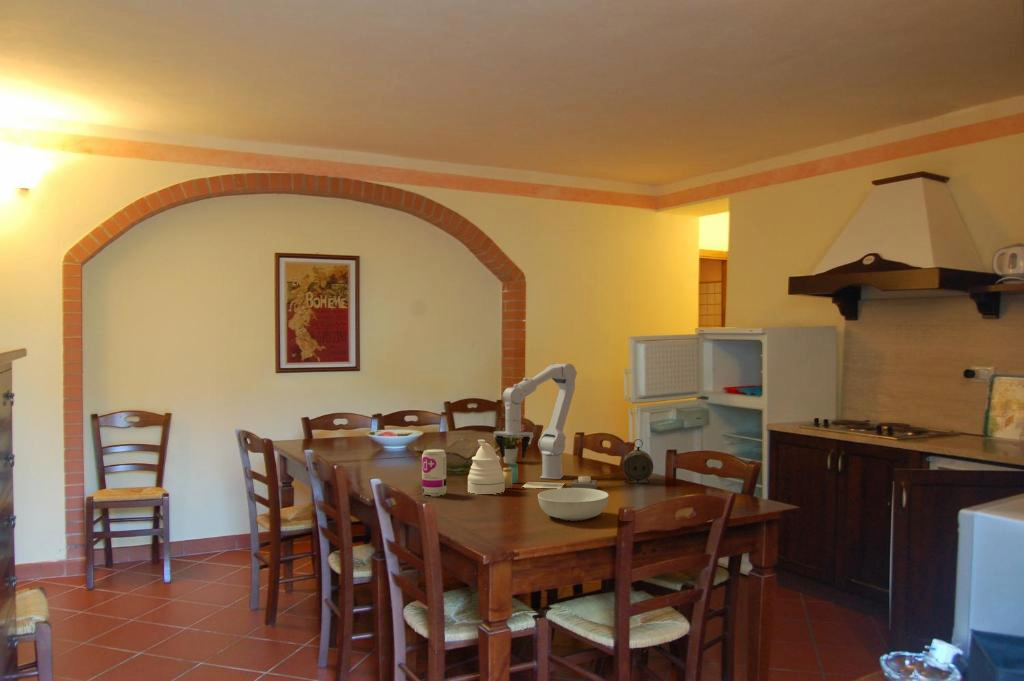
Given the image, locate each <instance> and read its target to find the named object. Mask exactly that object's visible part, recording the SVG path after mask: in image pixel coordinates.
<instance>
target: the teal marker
mask: <svg viewBox="0 0 1024 681" xmlns="http://www.w3.org/2000/svg"><path fill="white" fill-rule="evenodd" d="M508 468H512V483H517V484H518V483H519V471H518V470H519V464H518V463H517V462H516V463H508Z"/></svg>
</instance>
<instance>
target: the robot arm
mask: <svg viewBox="0 0 1024 681" xmlns="http://www.w3.org/2000/svg"><path fill="white" fill-rule="evenodd" d="M577 375H578V372H577V370H576V367H575V366H574V364H572V363H556V362H555V363H552V364H550V365H548V366H546V368H545V369H543V370H542V371H540V372H539V373H537V375H535V376H533V377H532V378H531V377H523V378H522V381H520V382H518V383H514V384H513V386H512V387H507V388H506V389H505V390H504V391H503V393H502V395H501V398H502V401H503V402H504V407H505V429H506V431H503V430H501V431H499V430H495V431H493V438H495V441H496V443H497V445H498V447H499V450H500V455H501V458H503V457H505V441H506V440H505V437H510V438H512V437H517V438H518V439H521V447H522V448H521V458H522V459H524V458H526V454H527V448H528V446H529V444H530V442H531V439H533V438H534V432H533V431H521V430H522V403H523V401H524V400H525V398H526V397H528V396H530V395H531V394H533V393H534V392H536V391H537V387H538V386H539V385H542V384H543V383H545V382H547V381H549V380H551V379H552V381H553V382H554V383H555V384H556V385H557V387H558V389H559V391H558V395H557V399H556V401H555V405H554V407H553V408H554V409H553V412H552V414H551V419H550V423H549V426H548V428H546V429H545V430H544V431H543V433H542V435H541V436H540V438H539V439H538V442H537V446H538V449H539V451H541V452H540V453H541V454H542V461H541V462H542V464H541V465H542V470H541V472H542V474H541V476H540V477H539V478H540V479H547V480H548V479H551V480H552V479H553V480H554V479H555V480H562V478H563V477H564V476H565V474H564V473H563V472H562V470H563V469H562V468H563V467H562V464H563V463H562V455H563V453H564V451H565V449H566V439H567V436H566V434H565V433H564V427H565V424H566V421H567V417H568V413H569V410H570V406H571V404H572V400H573V397H574V393H575V389H576V381H575V380H576V377H577ZM508 435H511V436H508ZM512 435H517V436H512Z"/></svg>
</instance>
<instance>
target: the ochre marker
mask: <svg viewBox="0 0 1024 681" xmlns="http://www.w3.org/2000/svg"><path fill="white" fill-rule="evenodd" d="M502 471H503V474H504V477H505V478H504V480H505V481H504V482H505V488H511V489H513V484H512V468H509V467H503V468H502Z"/></svg>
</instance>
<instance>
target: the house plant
mask: <svg viewBox="0 0 1024 681" xmlns="http://www.w3.org/2000/svg"><path fill="white" fill-rule="evenodd" d="M523 430H524V428H521V432H523ZM497 431H506V427H504V426H503V428H502V430H500V429H499V428H497ZM508 436H518V435H508ZM520 442H521V438H519V437H505V457H502V459H503V463H504V464H510V463H517V460H518V459H517V458H518V453H519V448H518V447H517V446H516V445H518V444H519V443H520Z"/></svg>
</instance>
